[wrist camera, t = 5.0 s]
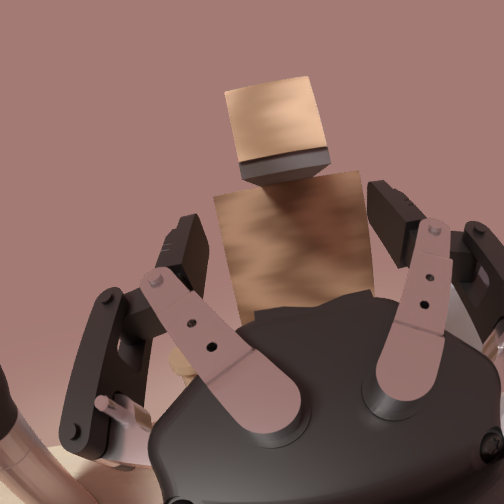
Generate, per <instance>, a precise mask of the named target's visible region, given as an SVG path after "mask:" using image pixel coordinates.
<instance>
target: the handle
mask: <svg viewBox="0 0 504 504" xmlns="http://www.w3.org/2000/svg"><path fill="white" fill-rule="evenodd" d="M169 363H170V366H171V368H172V370H173V371H174V372H175V373H176V374H177V375H179V376H182V377H183V379H184V383H185V385H186V387H187V386H188V385H189V384H190V382H191V381H192V380H193V379H194V378H195V376H196V375H197V372H196V371H195V370H194V368H193V367H192V366H191V364H190V363H189V362H188V360H187V359H186V358H185V356H184V355H183V354H182V352H181V351H180V349H179V348H178V347H177V346H176V347H175V348H174V349H173V350H172V352H171V353H170V354H169Z"/></svg>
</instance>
